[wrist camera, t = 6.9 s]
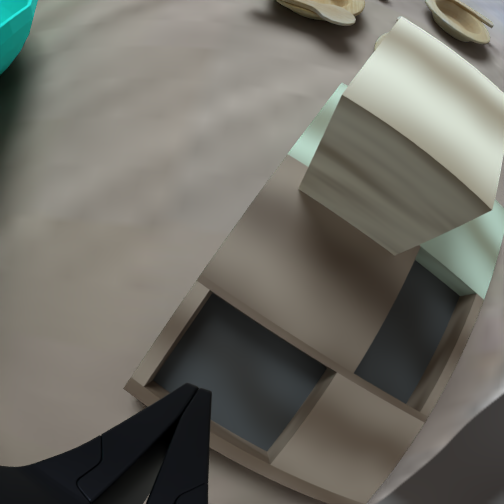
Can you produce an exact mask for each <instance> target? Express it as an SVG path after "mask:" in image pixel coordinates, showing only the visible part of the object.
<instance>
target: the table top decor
mask: <svg viewBox="0 0 504 504" xmlns="http://www.w3.org/2000/svg"><path fill="white" fill-rule="evenodd" d="M37 1H38V0H0V75H1V74H2V73H3V72H4V71H5V70H6V69H7V68H8V67H9V65H10V64H11V63H12V61H13V60H14V59H15V58H16V56H17V55H18V54H19V53H20V51H21V49H22V47H23V45H24V43H25V41H26V39H27V37H28V35H29V32H30V28H31V24H32V21H33V17H34V13H35V9H36V5H37Z"/></svg>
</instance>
